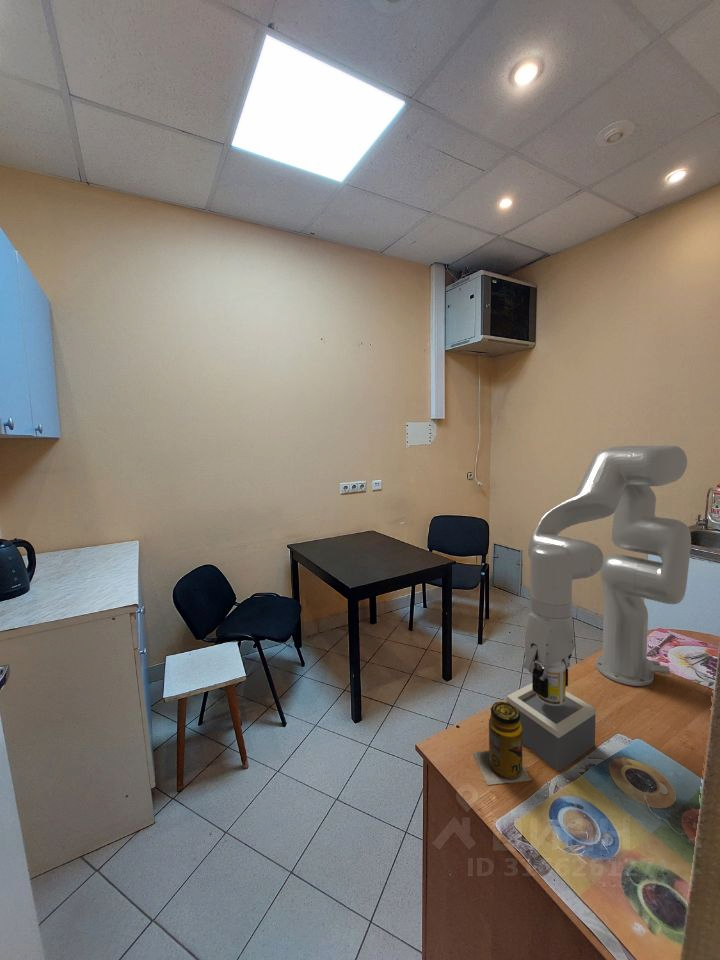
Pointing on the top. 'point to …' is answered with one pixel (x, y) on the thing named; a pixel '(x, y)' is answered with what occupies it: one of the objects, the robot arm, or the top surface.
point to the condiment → (503, 747)
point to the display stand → (555, 727)
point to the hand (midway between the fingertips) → (550, 687)
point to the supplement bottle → (555, 684)
